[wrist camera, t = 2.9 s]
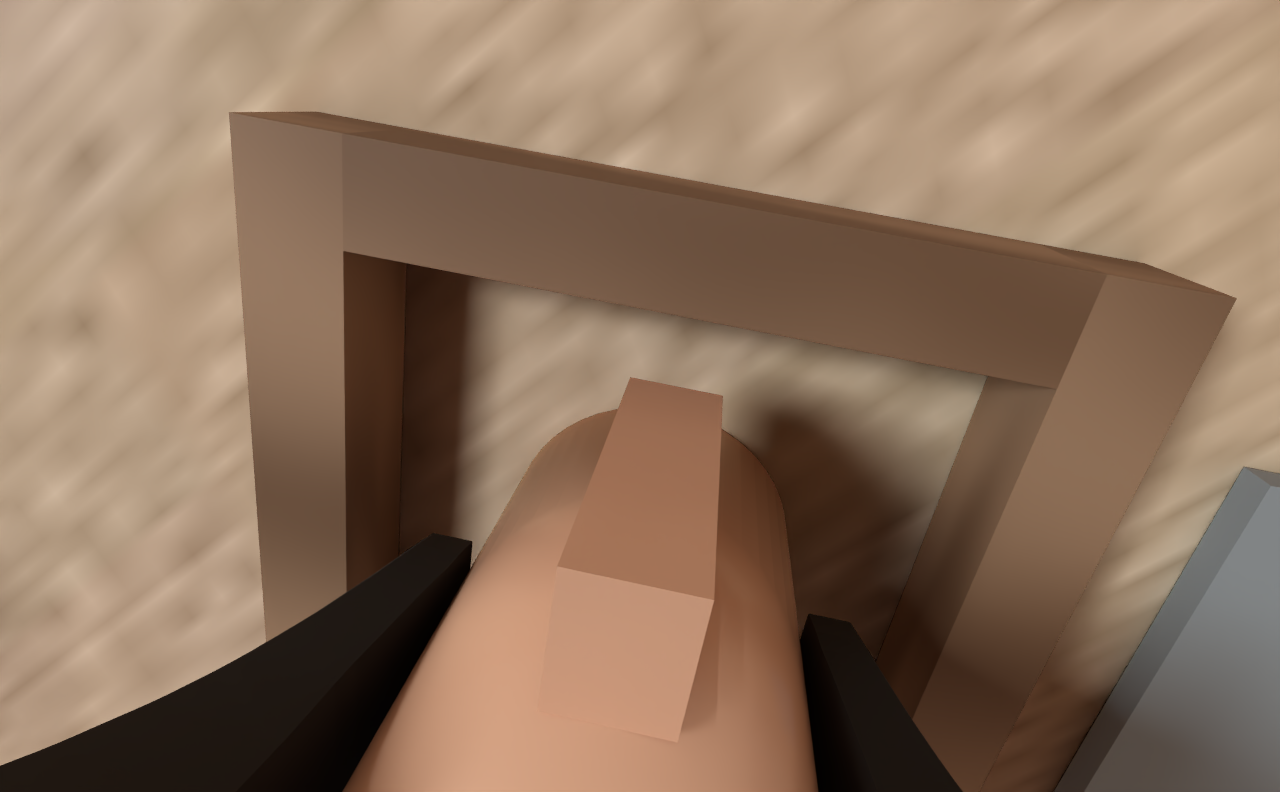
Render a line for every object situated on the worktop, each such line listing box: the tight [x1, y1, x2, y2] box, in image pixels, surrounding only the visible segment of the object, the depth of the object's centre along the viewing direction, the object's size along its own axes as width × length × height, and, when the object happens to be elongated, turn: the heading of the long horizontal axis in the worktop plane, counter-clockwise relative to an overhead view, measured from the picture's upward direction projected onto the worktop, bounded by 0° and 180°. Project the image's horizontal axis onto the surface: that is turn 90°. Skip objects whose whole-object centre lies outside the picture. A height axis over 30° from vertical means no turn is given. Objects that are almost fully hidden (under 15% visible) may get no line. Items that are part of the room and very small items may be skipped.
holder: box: [229, 112, 1237, 792], centre depth 12 cm, size 12×12×2 cm
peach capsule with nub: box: [343, 377, 818, 792], centre depth 9 cm, size 6×5×8 cm
